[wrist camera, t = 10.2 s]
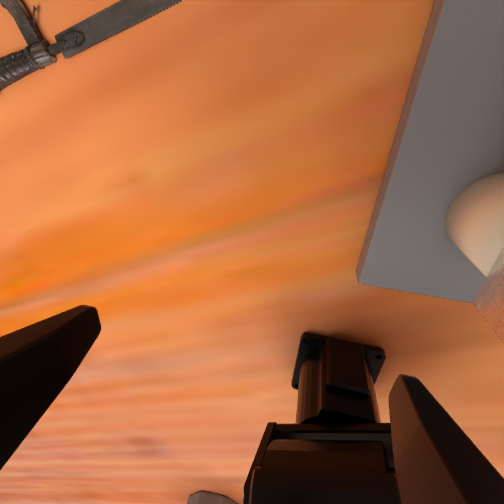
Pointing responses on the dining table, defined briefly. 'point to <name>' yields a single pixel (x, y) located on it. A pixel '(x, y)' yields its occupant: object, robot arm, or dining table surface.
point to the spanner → (493, 297)
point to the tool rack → (445, 162)
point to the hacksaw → (70, 34)
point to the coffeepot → (208, 498)
